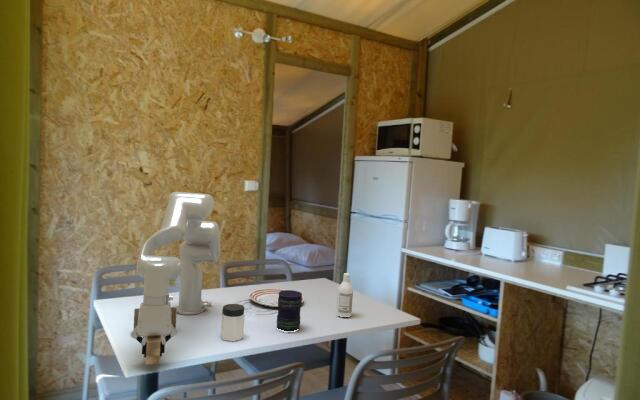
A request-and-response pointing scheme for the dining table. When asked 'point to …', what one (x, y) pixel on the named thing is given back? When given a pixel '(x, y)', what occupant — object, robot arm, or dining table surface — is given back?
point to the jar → (232, 322)
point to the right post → (173, 316)
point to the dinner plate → (265, 292)
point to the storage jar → (289, 310)
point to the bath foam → (345, 297)
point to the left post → (136, 317)
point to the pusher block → (153, 350)
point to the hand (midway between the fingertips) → (153, 355)
